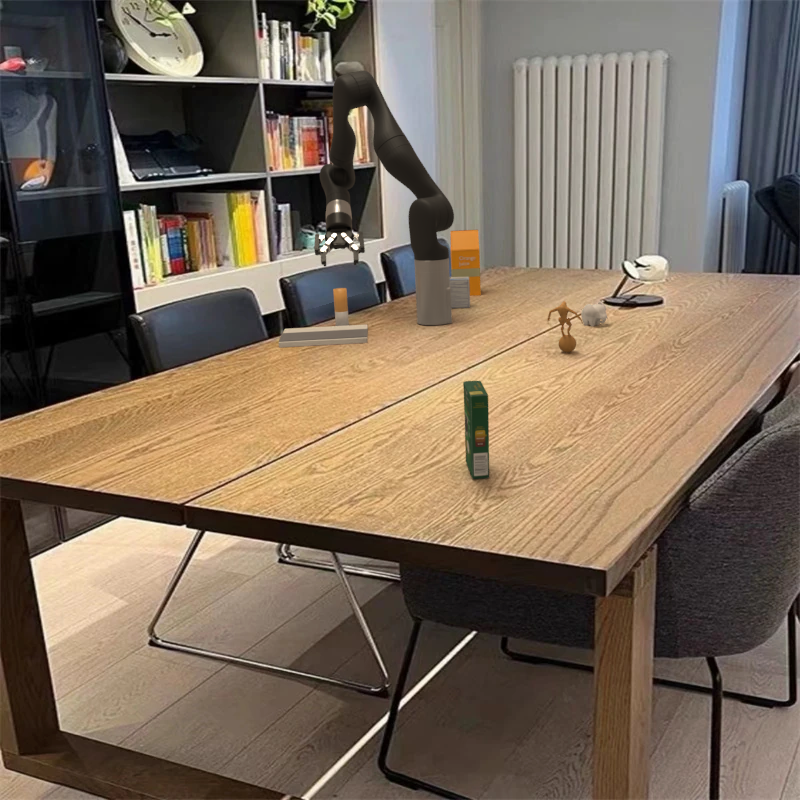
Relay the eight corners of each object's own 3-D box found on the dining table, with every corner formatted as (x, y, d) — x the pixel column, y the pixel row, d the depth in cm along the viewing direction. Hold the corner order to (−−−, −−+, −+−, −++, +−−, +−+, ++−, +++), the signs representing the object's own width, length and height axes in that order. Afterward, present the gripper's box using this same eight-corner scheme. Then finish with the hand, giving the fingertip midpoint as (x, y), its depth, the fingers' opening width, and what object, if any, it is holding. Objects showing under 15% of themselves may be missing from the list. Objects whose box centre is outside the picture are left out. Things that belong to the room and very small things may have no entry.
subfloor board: (367, 328, 257) (367, 323, 256) (367, 342, 239) (367, 337, 239) (285, 333, 256) (284, 328, 256) (278, 347, 239) (278, 341, 239)
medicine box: (470, 305, 284) (469, 276, 282) (469, 308, 280) (469, 278, 277) (443, 306, 285) (442, 277, 282) (442, 309, 281) (441, 279, 278)
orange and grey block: (348, 323, 265) (346, 287, 263) (348, 326, 262) (346, 289, 259) (335, 324, 265) (333, 288, 262) (335, 326, 262) (332, 290, 259)
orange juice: (480, 295, 301) (479, 230, 295) (452, 296, 301) (450, 232, 296) (479, 291, 308) (477, 228, 303) (451, 292, 308) (449, 229, 303)
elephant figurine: (597, 329, 242) (597, 305, 240) (572, 325, 248) (572, 302, 246) (614, 325, 246) (614, 302, 245) (589, 321, 252) (589, 299, 251)
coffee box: (491, 479, 141) (489, 393, 138) (471, 480, 141) (469, 394, 138) (483, 461, 149) (481, 379, 146) (465, 462, 149) (462, 380, 145)
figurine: (588, 351, 218) (588, 299, 215) (578, 357, 213) (578, 303, 210) (553, 349, 222) (553, 297, 219) (543, 354, 218) (542, 302, 214)
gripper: (313, 212, 276) (313, 257, 268) (362, 209, 276) (364, 254, 268) (315, 229, 283) (315, 273, 275) (363, 226, 283) (365, 270, 275)
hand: (340, 264), depth 272 cm, fingers open, 8 cm apart
